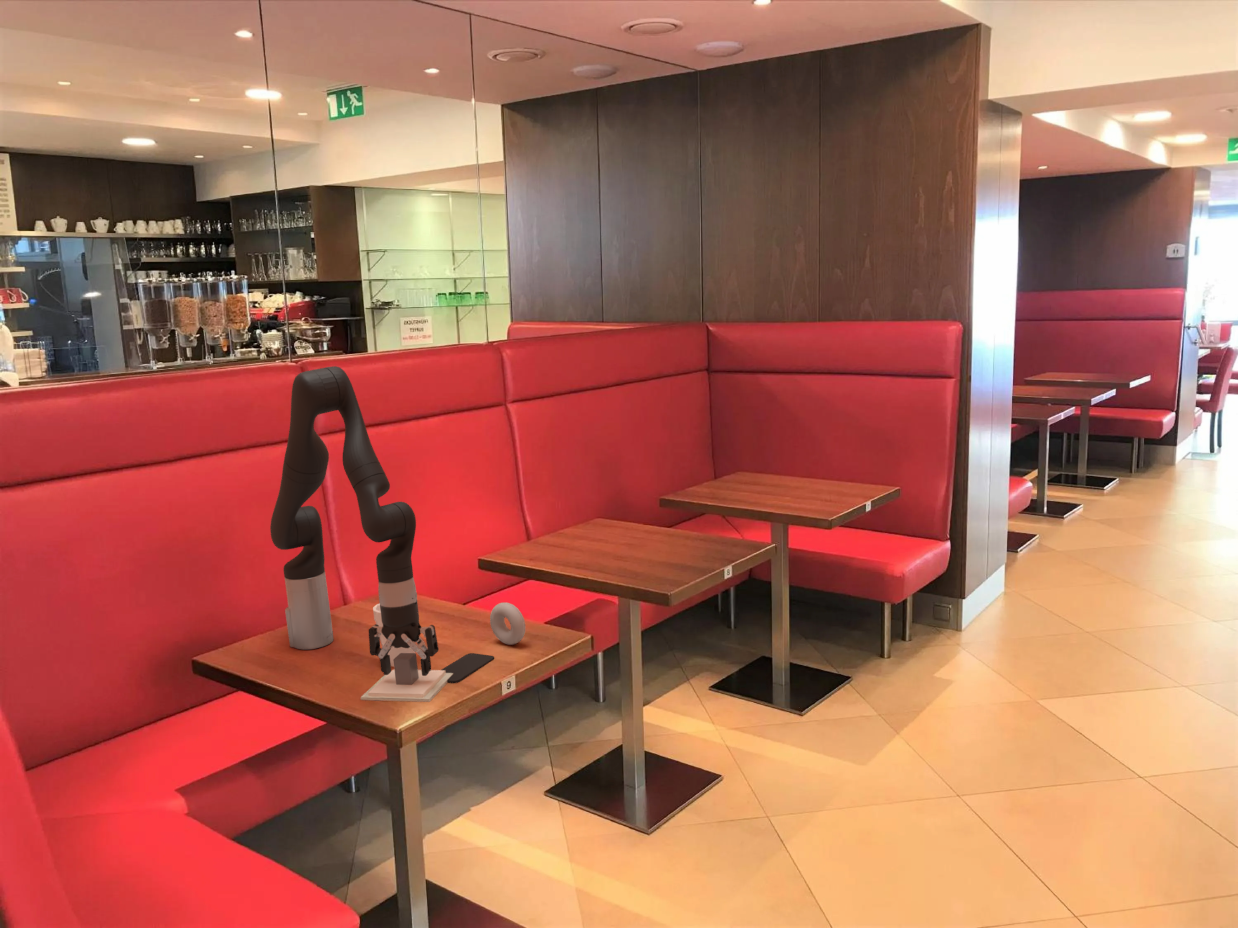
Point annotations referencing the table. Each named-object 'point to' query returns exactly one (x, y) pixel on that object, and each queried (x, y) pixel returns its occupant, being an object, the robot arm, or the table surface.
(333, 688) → the table surface
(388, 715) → the table surface
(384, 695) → the lid
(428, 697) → the mat
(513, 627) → the donut
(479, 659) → the phone
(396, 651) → the foam cup
